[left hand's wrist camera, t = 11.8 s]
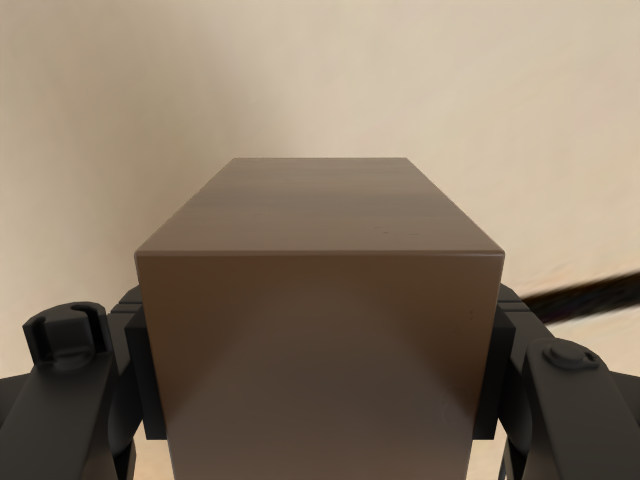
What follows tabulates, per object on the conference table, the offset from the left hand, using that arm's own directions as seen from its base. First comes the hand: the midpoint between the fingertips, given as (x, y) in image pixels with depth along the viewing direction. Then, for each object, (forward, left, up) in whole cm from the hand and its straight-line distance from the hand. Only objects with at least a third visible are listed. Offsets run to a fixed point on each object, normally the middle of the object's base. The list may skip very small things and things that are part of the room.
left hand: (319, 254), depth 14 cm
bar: (+8, +3, -1) cm, 9 cm away
